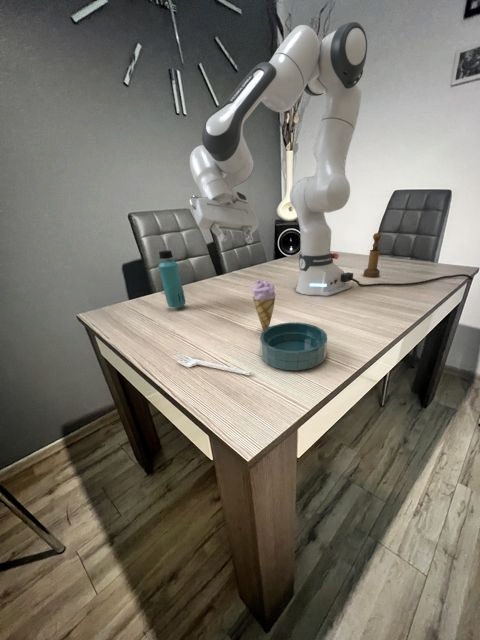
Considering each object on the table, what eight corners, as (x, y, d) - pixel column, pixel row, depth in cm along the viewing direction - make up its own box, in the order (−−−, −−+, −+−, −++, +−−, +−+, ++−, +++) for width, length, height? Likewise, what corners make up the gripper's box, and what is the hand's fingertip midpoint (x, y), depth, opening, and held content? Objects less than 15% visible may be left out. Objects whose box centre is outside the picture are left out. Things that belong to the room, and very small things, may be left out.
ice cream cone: (251, 327, 81) (247, 277, 74) (270, 323, 83) (268, 274, 76) (260, 336, 76) (257, 283, 68) (280, 331, 78) (279, 279, 70)
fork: (246, 380, 58) (246, 372, 57) (172, 363, 66) (171, 357, 65) (253, 372, 61) (252, 365, 60) (181, 357, 68) (179, 350, 67)
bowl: (301, 334, 76) (301, 317, 73) (339, 359, 64) (341, 340, 61) (250, 349, 70) (249, 332, 67) (282, 380, 58) (282, 360, 55)
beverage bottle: (182, 311, 96) (169, 252, 86) (164, 311, 97) (150, 252, 87) (189, 305, 101) (179, 248, 91) (173, 305, 103) (161, 249, 93)
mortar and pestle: (364, 277, 121) (370, 234, 112) (362, 274, 127) (367, 232, 118) (380, 277, 120) (387, 233, 111) (377, 274, 126) (384, 231, 117)
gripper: (191, 185, 70) (211, 230, 68) (251, 197, 83) (269, 235, 81) (183, 203, 74) (201, 247, 72) (241, 212, 88) (257, 249, 86)
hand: (238, 241), depth 77 cm, fingers open, 8 cm apart
